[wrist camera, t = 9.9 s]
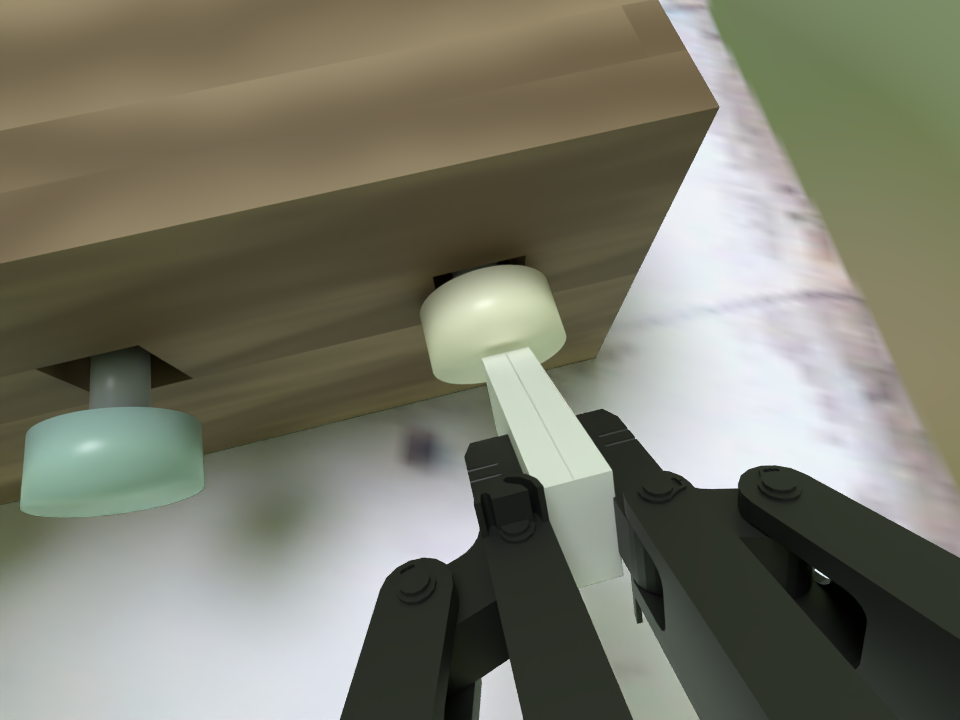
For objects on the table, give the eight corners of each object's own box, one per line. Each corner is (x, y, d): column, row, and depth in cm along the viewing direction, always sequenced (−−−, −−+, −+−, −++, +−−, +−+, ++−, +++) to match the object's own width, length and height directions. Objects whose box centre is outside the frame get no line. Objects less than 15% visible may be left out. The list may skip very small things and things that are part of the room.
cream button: (557, 364, 19) (575, 309, 14) (440, 394, 18) (424, 345, 14) (516, 241, 21) (522, 162, 16) (410, 266, 20) (388, 191, 16)
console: (595, 357, 27) (719, 106, 12) (-116, 533, 25) (-1049, 492, 10) (541, 207, 31) (585, -127, 16) (-84, 349, 28) (-728, 113, 13)
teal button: (230, 488, 17) (147, 465, 13) (98, 522, 17) (-29, 509, 13) (220, 344, 19) (146, 285, 15) (102, 371, 19) (-7, 319, 15)
